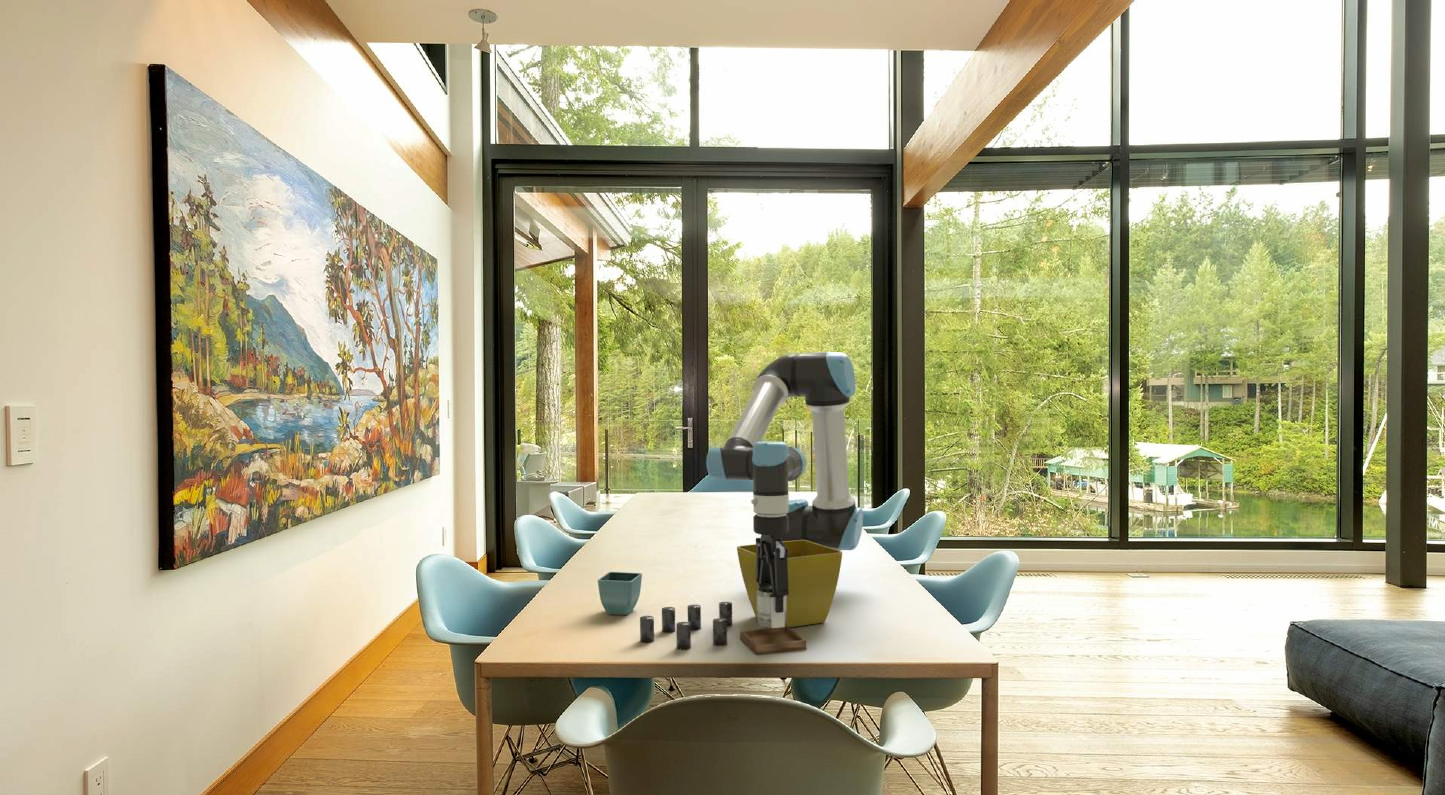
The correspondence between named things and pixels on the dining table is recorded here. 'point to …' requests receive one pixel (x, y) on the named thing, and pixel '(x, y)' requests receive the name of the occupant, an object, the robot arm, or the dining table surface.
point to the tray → (772, 640)
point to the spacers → (688, 625)
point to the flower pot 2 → (799, 580)
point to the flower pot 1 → (619, 591)
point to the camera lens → (766, 606)
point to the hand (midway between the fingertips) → (772, 622)
